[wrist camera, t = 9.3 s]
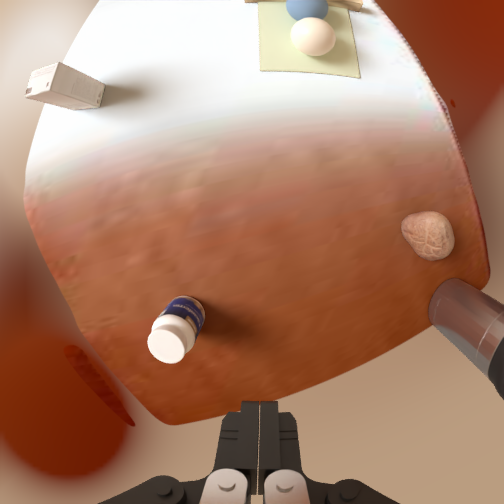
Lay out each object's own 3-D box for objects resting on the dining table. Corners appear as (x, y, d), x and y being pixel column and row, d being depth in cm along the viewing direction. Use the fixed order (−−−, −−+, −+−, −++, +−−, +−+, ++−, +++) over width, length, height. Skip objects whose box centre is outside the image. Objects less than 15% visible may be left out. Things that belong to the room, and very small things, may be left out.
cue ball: (328, 25, 27) (338, 13, 22) (331, 60, 30) (342, 53, 25) (287, 23, 28) (291, 10, 23) (290, 58, 31) (294, 50, 26)
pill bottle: (212, 308, 38) (197, 344, 29) (194, 336, 40) (176, 375, 30) (178, 287, 38) (153, 317, 28) (162, 315, 39) (136, 349, 29)
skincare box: (106, 83, 31) (61, 58, 20) (99, 109, 32) (50, 90, 21) (78, 88, 31) (32, 68, 20) (72, 112, 32) (22, 98, 21)
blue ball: (324, -11, 24) (334, -6, 21) (322, 21, 29) (331, 29, 26) (284, -14, 24) (288, -11, 21) (283, 18, 29) (287, 25, 27)
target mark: (347, 9, 27) (347, 8, 27) (359, 78, 30) (359, 77, 30) (257, 2, 28) (258, 1, 28) (260, 71, 31) (259, 70, 31)
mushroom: (431, 249, 35) (462, 262, 27) (400, 262, 36) (427, 278, 28) (423, 201, 34) (455, 205, 26) (390, 212, 34) (419, 218, 26)
